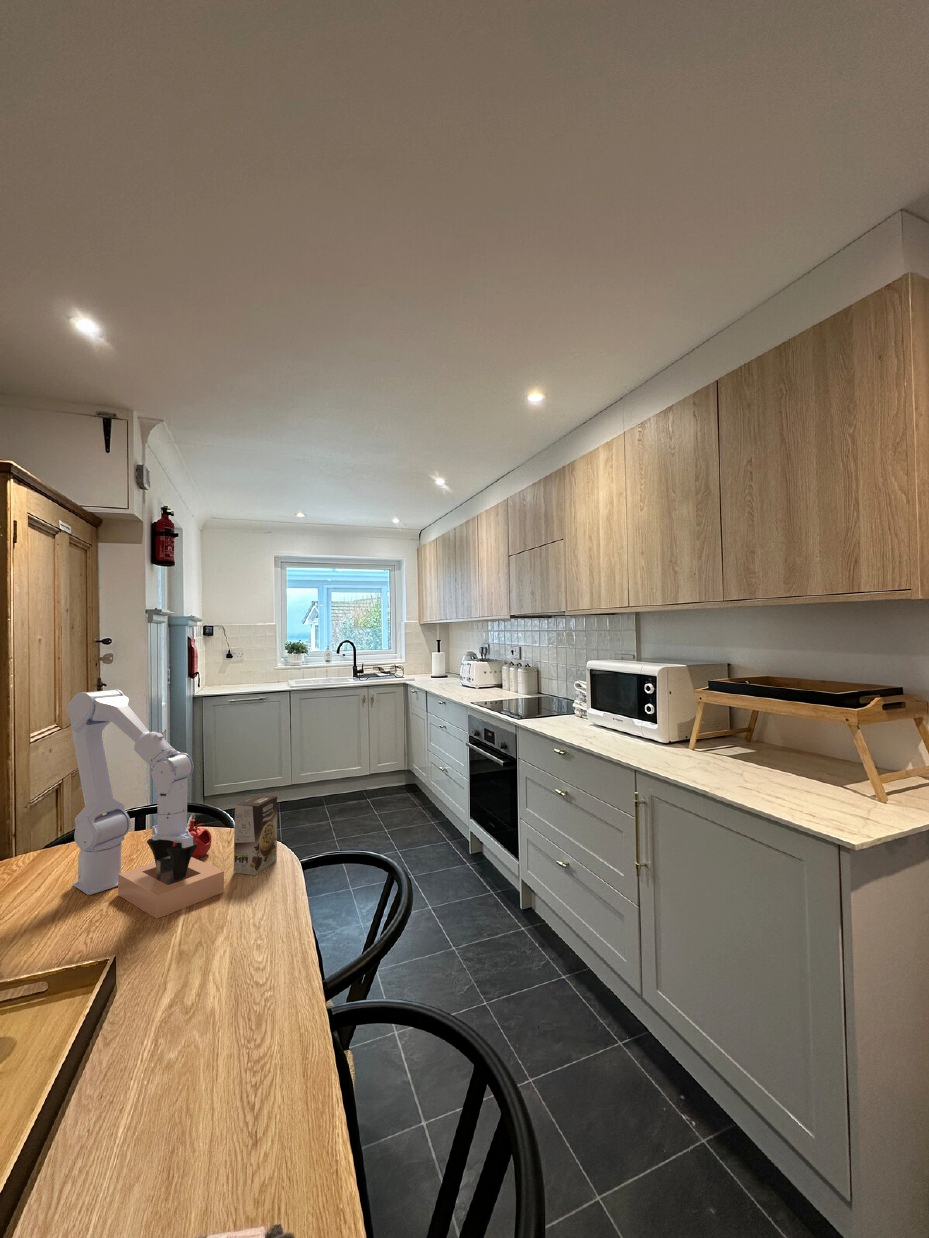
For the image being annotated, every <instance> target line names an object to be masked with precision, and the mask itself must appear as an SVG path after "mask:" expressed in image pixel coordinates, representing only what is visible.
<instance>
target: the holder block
mask: <svg viewBox="0 0 929 1238" xmlns="http://www.w3.org/2000/svg"><path fill="white" fill-rule="evenodd" d="M156 871H157V867H156V863H155V862H152V863H149V864H146V865H143V866H139V867H136V868H133V869H129V870H127V871H123V872H121V873H120V874H118V886H117V896H119V897H120V898H122V899H124V900H125V901H127V902H128V903H130V904H131V905H133V906H135V907H137V908H138V909H140V910H142V911H143V912H144V913H146V914H147V915H150V916H151V917H153V918H155V919H159V918H160V919H161V918H162V917H164V916H167V915H170V914H173V913H175V912H177V911H180V910H182V909H185V908H188V907H191V906H193V905H195V904H197V903H200V902H202V901H205V900H207V899H210V898H212V897H215V896H218V895H220V894H222V893H224V891H225V871H224V870H223V869H220V868H218V867H215V866H213V865H211V864H209V863H206V862H204V861H202V860H199V859H198V858H197V859H195V858H193V857H191V859H190V862H189V865H188V869H187V873H186V876H185V877H184V878H183V880H182V881H179V882H176V883H173V884H170V885H167V884H165V883H163V882H161V881H159V880H157V879H156Z"/></svg>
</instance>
